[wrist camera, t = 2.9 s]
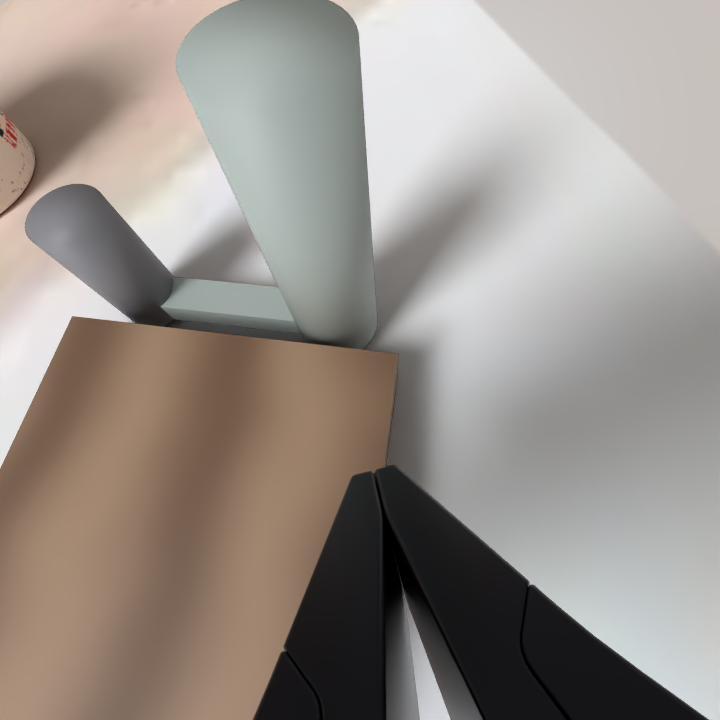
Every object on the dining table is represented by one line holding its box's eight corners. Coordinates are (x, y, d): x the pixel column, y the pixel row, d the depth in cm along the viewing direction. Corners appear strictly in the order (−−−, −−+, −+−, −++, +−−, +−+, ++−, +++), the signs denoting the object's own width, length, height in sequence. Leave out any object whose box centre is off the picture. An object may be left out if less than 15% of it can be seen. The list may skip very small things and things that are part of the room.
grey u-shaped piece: (117, 332, 19) (-228, 90, 8) (143, 268, 20) (-126, -10, 10) (371, 362, 18) (341, 114, 7) (382, 291, 19) (371, -8, 8)
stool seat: (-39, 693, 14) (-122, 725, 12) (183, 168, 24) (160, 129, 21) (344, 789, 13) (334, 849, 10) (422, 183, 22) (426, 142, 20)
